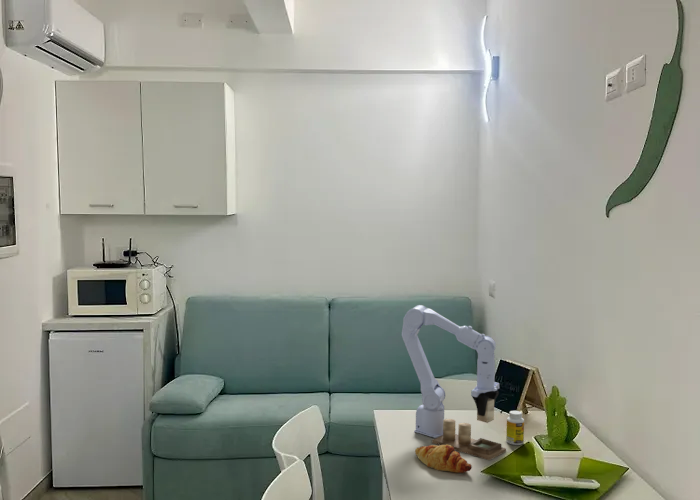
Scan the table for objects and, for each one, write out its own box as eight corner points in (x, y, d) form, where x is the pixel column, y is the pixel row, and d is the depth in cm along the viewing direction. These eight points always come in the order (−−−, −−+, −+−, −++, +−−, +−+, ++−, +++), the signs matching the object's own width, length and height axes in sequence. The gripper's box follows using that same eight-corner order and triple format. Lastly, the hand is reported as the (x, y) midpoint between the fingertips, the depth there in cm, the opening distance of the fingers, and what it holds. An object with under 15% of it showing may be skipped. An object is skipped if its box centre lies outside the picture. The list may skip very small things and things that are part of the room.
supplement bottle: (515, 447, 212) (516, 416, 211) (502, 441, 216) (503, 411, 216) (527, 443, 215) (527, 413, 214) (514, 438, 219) (515, 408, 219)
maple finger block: (476, 419, 218) (476, 399, 218) (482, 417, 221) (482, 396, 221) (487, 422, 215) (487, 401, 215) (493, 419, 218) (494, 399, 218)
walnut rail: (432, 442, 215) (432, 422, 215) (449, 435, 222) (449, 415, 222) (489, 460, 200) (489, 437, 200) (506, 451, 208) (506, 429, 207)
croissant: (409, 469, 202) (401, 449, 199) (427, 447, 208) (420, 427, 205) (465, 488, 187) (457, 468, 184) (483, 464, 193) (476, 444, 190)
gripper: (484, 379, 209) (484, 421, 210) (507, 371, 220) (506, 411, 221) (466, 376, 214) (465, 416, 215) (489, 368, 225) (488, 406, 225)
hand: (485, 413), depth 218 cm, fingers closed on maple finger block, 4 cm apart
